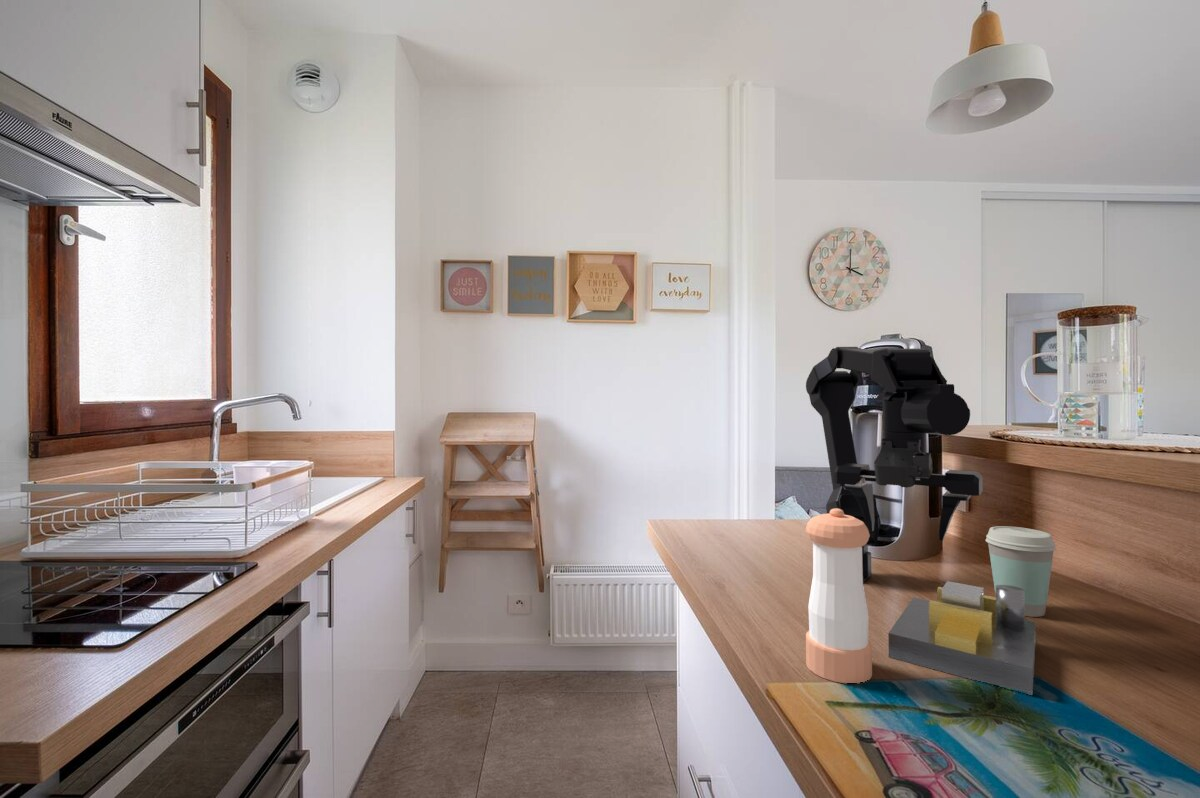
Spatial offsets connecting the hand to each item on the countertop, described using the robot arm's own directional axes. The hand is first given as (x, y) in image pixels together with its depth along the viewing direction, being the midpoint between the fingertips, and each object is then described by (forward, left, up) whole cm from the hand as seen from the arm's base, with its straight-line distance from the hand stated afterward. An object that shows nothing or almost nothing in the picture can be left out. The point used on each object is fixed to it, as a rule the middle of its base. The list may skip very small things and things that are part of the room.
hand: (905, 535), depth 79 cm
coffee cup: (+13, +14, -12) cm, 23 cm away
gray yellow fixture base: (+8, -8, -12) cm, 16 cm away
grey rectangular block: (+8, -8, -12) cm, 16 cm away
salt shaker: (-3, -23, -12) cm, 26 cm away
